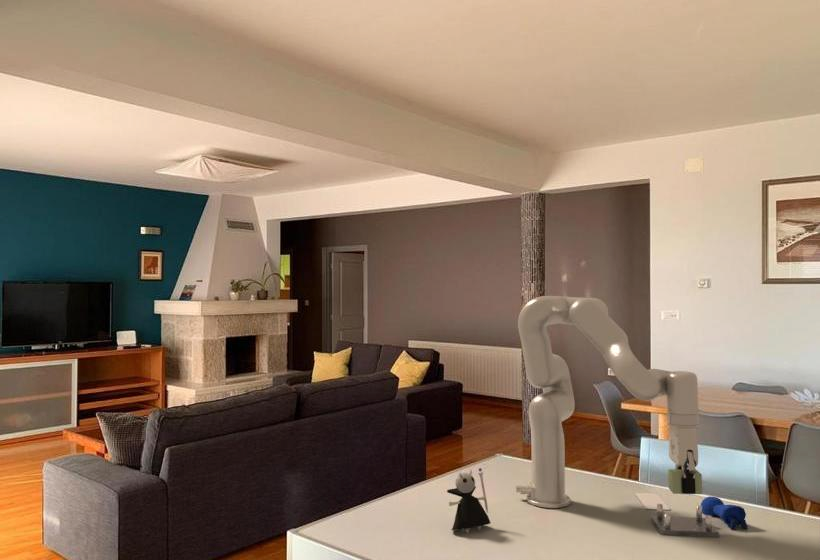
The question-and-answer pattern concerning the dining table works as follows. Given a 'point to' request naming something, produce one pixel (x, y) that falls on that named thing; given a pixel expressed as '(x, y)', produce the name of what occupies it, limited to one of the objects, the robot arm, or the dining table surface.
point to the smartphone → (651, 501)
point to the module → (675, 481)
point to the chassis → (684, 524)
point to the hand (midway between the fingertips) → (685, 489)
